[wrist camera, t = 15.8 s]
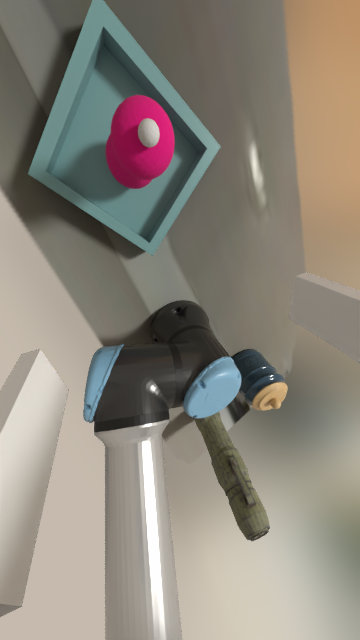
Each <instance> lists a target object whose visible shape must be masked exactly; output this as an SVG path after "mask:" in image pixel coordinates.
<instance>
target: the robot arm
mask: <svg viewBox="0 0 360 640" xmlns="http://www.w3.org/2000/svg"><path fill="white" fill-rule="evenodd" d="M289 319H291V320H292V321H294V322H296V323H297V324H299V325H300V326H302V327H304V328H305V329H307V330H308V331H310V332H311V333H313V334H315V335H316V336H318V337H319V338H321V339H323V340H324V341H326V342H327V343H329V344H330V345H332V346H333V347H335V348H337V349H338V350H340V351H341V352H343V353H345V354H346V355H348V356H349V357H351V358H352V359H354V360H356V361H357V362H359V363H360V291H359V290H357V289H353V288H351V287H348V286H345V285H342V284H339V283H336V282H333V281H330V280H327V279H325V278H322V277H318V276H316V275H313V274H310V273H304V274H300V275H297V276H296V277H295V283H294V289H293V295H292V301H291V307H290V313H289ZM151 335H152V338H153V341H154V343H153V344H135V345H124V344H121V345H117V346H108V347H102V348H100V349H98V350H97V351H96V352H95V354H94V355H93V358H92V361H91V364H90V368H89V372H88V377H87V384H86V389H85V398H84V403H85V404H84V411H83V412H84V414H83V416H84V420H85V421H87V422H89V423H92V422H93V421H94V422H95V423H94V435H95V436H96V437H98V438H99V439H100V440H101V441H102V442H103V443H104V445H105V616H106V617H105V640H182V631H181V622H180V612H179V601H178V592H177V581H176V571H175V562H174V552H173V542H172V532H171V522H170V512H169V502H168V493H167V482H166V473H165V463H164V453H163V443H162V433H163V430H164V429H165V427H166V426H167V425H168V423H169V422H170V419H169V409H170V408H176V407H183V408H184V411H185V412H186V413H187V414H188V415H189V416H191V417H193V418H205V417H209V416H211V415H213V414H215V413H217V412H219V411H220V410H222V409H223V408H225V407H226V406H227V405H228V404H229V403H230V402H231V401H232V400H233V399H234V398H235V396H236V395H237V393H238V391H239V389H240V386H241V374H240V372H239V370H238V368H237V367H236V365H235V364H234V361H233V359H232V358H231V357H230V356H229V355H228V353H227V352H226V351H225V349H224V348H223V347H222V346H221V344H220V343H219V342H218V340H217V339H216V338H215V337H214V335H213V334H212V333H211V330H210V325H209V319H208V317H207V315H206V313H205V312H204V310H203V309H202V308H201V307H200V306H199V305H197V304H196V303H194V302H191V301H176V302H173V303H170V304H168V305H166V306H165V307H163V308H162V309H161V310H160V311H159V312H158V313H157V314H156V315H155V317H154V319H153V321H152V324H151ZM68 391H69V390H68V388H67V387H66V386H65V384H64V382H63V381H62V380H61V378H60V377H59V375H58V374H57V372H56V371H55V369H54V368H53V366H52V365H51V363H50V362H49V361H48V359H47V358H46V356H45V355H44V353H43V352H42V351H41V349H38V350H35V351H32V352H28V353H24V354H21V356H20V358H19V360H18V361H17V363H16V365H15V367H14V368H13V370H12V372H11V373H10V375H9V377H8V379H7V380H6V382H5V384H4V385H3V387H2V389H1V391H0V617H1V616H3V615H5V614H7V613H9V612H11V611H13V610H16V609H18V608H19V607H22V603H23V598H24V594H25V589H26V585H27V580H28V575H29V571H30V566H31V562H32V557H33V552H34V548H35V543H36V538H37V534H38V529H39V525H40V520H41V515H42V511H43V506H44V502H45V497H46V492H47V488H48V483H49V478H50V474H51V469H52V465H53V459H54V455H55V450H56V446H57V442H58V437H59V432H60V428H61V423H62V418H63V413H64V409H65V404H66V400H67V395H68Z"/></svg>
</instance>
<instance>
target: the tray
mask: <svg viewBox="0 0 360 640" xmlns="http://www.w3.org/2000/svg"><path fill="white" fill-rule="evenodd" d="M134 95H144V96H147V97H149V98H151V99H153V100H155V101H156V102H157V103H158V104H159V105H160V106H161V107H162V108H163V109H164V111H165V112H166V113H167V115H168V117H169V119H170V121H171V124H172V127H173V132H174V141H175V146H174V153H173V157H172V160H171V162H170V164H169V166H168V168H167V169H166V170H165V171H164V172H163V173H162V174H161V175H160V176H158V177H157V178H154V179H152V181H151V182H150V183H149V184H148V185H147V186H145V187H143V188H140V189H131V188H128V187H125V186H123V185H122V184H120V183H119V182H118V181H117V180H116V179H115V178H114V176H113V175H112V173H111V171H110V169H109V167H108V164H107V161H106V154H105V153H106V143H107V140H108V137H109V135H110V134H111V122H112V118H113V115H114V113H115V111H116V109H117V108H118V106H119V104H121V103H122V102H123V101H124V100H125V99H127V98H128V97H130V96H134ZM219 148H220V145H219V144H218V143H217V142H216V140H215V139H214V138H213V137H212V135H211V134H210V133H209V132H208V130H207V129H206V128H205V127H204V125H203V124H202V123H201V122H200V120H199V119H198V118H197V117H196V115H195V114H194V113H193V112H192V110H191V109H190V108H189V107H188V105H187V104H186V103H185V102H184V100H183V99H182V98H181V97H180V96H179V94H178V93H177V92H176V91H175V89H174V88H173V87H172V86H171V84H170V83H169V82H168V81H167V79H166V78H165V77H164V76H163V74H162V73H161V72H160V71H159V69H158V68H157V67H156V66H155V64H154V63H153V62H152V61H151V59H150V58H149V57H148V56H147V54H146V53H145V52H144V51H143V49H142V48H141V47H140V46H139V44H138V43H137V42H136V41H135V39H134V38H133V37H132V36H131V34H130V33H129V32H128V31H127V29H126V28H125V27H124V26H123V25H122V23H121V22H120V21H119V20H118V18H117V17H116V16H115V15H114V13H113V12H112V11H111V10H110V8H109V7H108V6H107V5H106V3H105V2H104V1H103V0H92V3H91V6H90V8H89V11H88V14H87V16H86V19H85V22H84V24H83V27H82V30H81V32H80V35H79V38H78V40H77V43H76V46H75V48H74V51H73V54H72V56H71V59H70V62H69V65H68V67H67V70H66V73H65V75H64V78H63V81H62V83H61V86H60V89H59V91H58V94H57V97H56V99H55V102H54V105H53V107H52V110H51V113H50V115H49V118H48V121H47V123H46V126H45V129H44V131H43V134H42V137H41V139H40V142H39V145H38V148H37V150H36V153H35V156H34V158H33V161H32V164H31V166H30V169H29V172H28V174H29V175H30V176H32V177H33V178H35V179H36V180H38V181H39V182H41V183H42V184H44V185H45V186H47V187H48V188H50V189H51V190H53V191H55V192H56V193H58V194H59V195H61V196H62V197H64V198H65V199H67V200H68V201H70V202H71V203H73V204H74V205H76V206H77V207H79V208H80V209H82V210H83V211H85V212H87V213H88V214H90V215H91V216H93V217H94V218H96V219H97V220H99V221H100V222H102V223H103V224H105V225H106V226H108V227H109V228H111V229H112V230H114V231H115V232H117V233H119V234H120V235H122V236H123V237H125V238H126V239H128V240H129V241H131V242H132V243H134V244H135V245H137V246H138V247H140V248H141V249H143V250H144V251H146V252H147V253H149V254H151V255H152V256H153V254H154V253H155V251H156V249H157V248H158V246H159V245H160V243H161V241H162V240H163V238H164V237H165V235H166V233H167V232H168V230H169V229H170V227H171V225H172V224H173V222H174V221H175V219H176V217H177V216H178V214H179V212H180V211H181V209H182V208H183V206H184V204H185V203H186V201H187V200H188V198H189V196H190V195H191V193H192V192H193V190H194V188H195V187H196V185H197V184H198V182H199V180H200V179H201V177H202V176H203V174H204V172H205V171H206V169H207V168H208V166H209V164H210V163H211V161H212V159H213V158H214V156H215V155H216V153H217V151H218V150H219Z"/></svg>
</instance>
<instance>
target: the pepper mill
mask: <svg viewBox="0 0 360 640" xmlns="http://www.w3.org/2000/svg"><path fill="white" fill-rule="evenodd" d="M174 146H175V141H174V132H173V127H172V124H171V121H170V119H169V117H168V115H167V113H166V112H165V111H164V109H163V108H162V107H161V106H160V105H159V104H158V103H157V102H156V101H155V100H153V99H151V98H149V97H147V96H144V95H134V96H130V97H128V98H127V99H125V100H124V101H123V102H122V103H121V104H119V106H118V108H117V109H116V111H115V113H114V115H113V118H112V122H111V134H110V135H109V137H108V140H107V143H106V153H105V154H106V161H107V164H108V167H109V169H110V171H111V173H112V175H113V176H114V178H115V179H116V180H117V181H118V182H119V183H120V184H122V185H123V186H125V187H128V188H131V189H140V188H143V187H145V186H147V185H148V184H149V183H150V182H151V181H152V179H154V178H157V177H158V176H160V175H161V174H162V173H163V172H164V171H165V170H166V169H167V168H168V166H169V164H170V162H171V160H172V157H173V153H174Z"/></svg>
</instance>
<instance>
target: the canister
mask: <svg viewBox="0 0 360 640" xmlns="http://www.w3.org/2000/svg"><path fill="white" fill-rule="evenodd" d="M232 359H233V361H234V364H235V365H236V367H237V368H238V370H239V372H240V374H241V386H240V389H239V392H240V393H241V394H242V395H243V396H245V401H246V402H247V403H248V404H249V405H252V406H253V408H254V409H256V410H269V409H272V408H275V409H278V408H279V407H280V406H281V402H282V401H283V400H284V398H285V396H286V392H287V385H286V384H285V383H284V378H283V376H282V375H280V374H277V372H276V369H275V368H274V367H272V366H271V365H270V364H269V363H268V362H267V361H266V359H265V358H264V357H263V355H261V353H259V352H258V351H256V350H253V349H248V350H244V351H242V352H240V353H238V354H236V355H235V356H234V357H233V358H232Z"/></svg>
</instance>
